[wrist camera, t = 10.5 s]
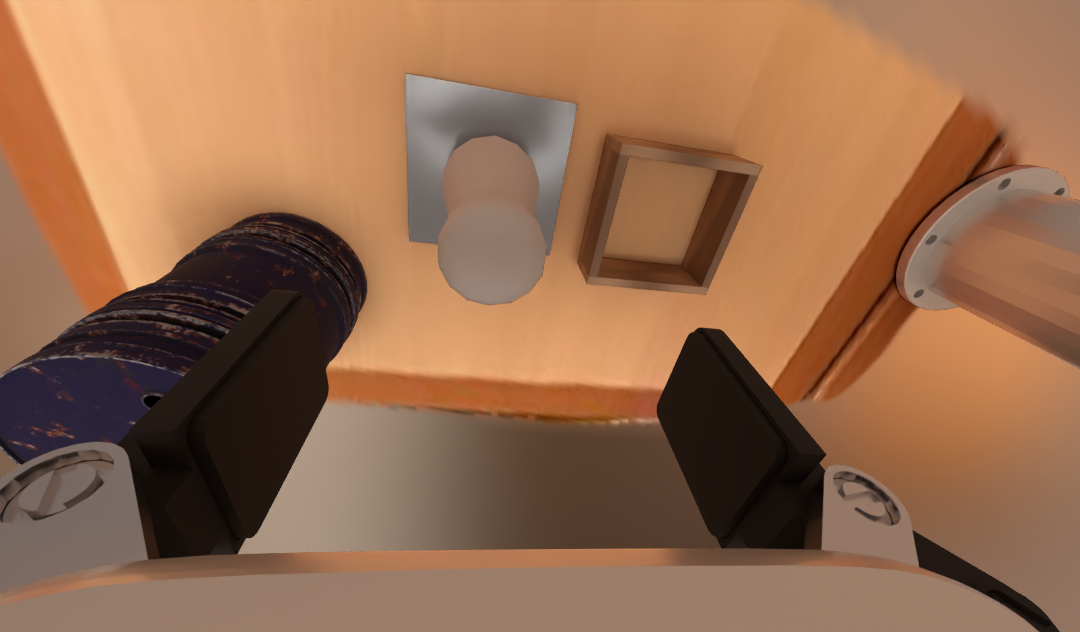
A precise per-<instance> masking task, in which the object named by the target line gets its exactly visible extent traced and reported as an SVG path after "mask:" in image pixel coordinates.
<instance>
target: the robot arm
mask: <svg viewBox="0 0 1080 632" xmlns="http://www.w3.org/2000/svg"><path fill="white" fill-rule="evenodd" d="M896 284H897V288H898V290H899V293H900V294H901V295H902V296H903V298H904V299H905V300H907V301H909V302H910V303H912V304H914V305H915V306H917V307H920V308H923V309H926V310H946V309H951V308H955V307H961V308H963V309H965V310H967V311H969V312H971V313H973V314H975V315H977V316H979V317H980V318H982V319H985V320H986V321H988V322H990V323H992V324H994V325H996V326H998V327H1000V328H1002V329H1004V330H1006V331H1007V332H1009V333H1011V334H1013V335H1015V336H1017V337H1019V338H1021V339H1023V340H1025V341H1027V342H1029V343H1031V344H1033V345H1035V346H1036V347H1039V348H1040V349H1042V350H1044V351H1046V352H1048V353H1050V354H1052V355H1054V356H1056V357H1058V358H1060V359H1062V360H1063V361H1065V362H1067V363H1069V364H1071V365H1073V366H1075V367H1077V368H1079V369H1080V200H1076V199H1072V198H1069V186H1068V184H1067V182H1066V179H1065V178H1064V177H1063V176H1062V175H1061V174H1060V173H1058V172H1057V171H1054V170H1052V169H1049V168H1044V167H1039V166H1033V165H1017V166H1011V167H1007V168H1003V169H999V170H996V171H994V172H992V173H989V174H987V175H984V176H982V177H980V178H978V179H976V180H975V181H973V182H971V183H969V184H968V185H966V186H964V187H962V188H961V189H960V190H958V191H957V192H955V193H954V194H953V195H951V196H950V197H948V198H947V199H946V200H945V201H944V202H943V203H941V204H940V205H939V206H938V207H937V208H936V209H935V210H933V211H932V213H931V214H930V215H929V216H928V217H927V218H926V219H925V220H924V221H923V222H922V223H921V224H920V226H919V227H918V228H917V230H916V231H915V232H914V234H913V235H912V236H911V238H910V239H909V241H908V243H907V245H906V246H905V248H904V250H903V252H902V255H901V257H900V260H899V262H898V267H897V272H896ZM328 390H329V386H328V380H327V374H326V368H325V363H324V357H323V351H322V345H321V340H320V334H319V328H318V323H317V317H316V311H315V306H314V302H313V300H312V299H307V298H306V296H305V295H304V293H303V292H299V291H288V290H277V289H274V290H271V291H270V292H269V293H268V294H267V295H266V296H265V297H263V298H262V299H261V300H260V301H259V302H258V303H257V304H256V305H255V306H254V307H253V308H252V309H251V310H250V311H249V312H248V313H247V314H246V315H245V316H244V317H243V318H242V319H241V320H240V321H239V322H238V323H237V324H236V325H235V326H234V327H233V328H232V329H231V330H230V331H229V332H228V333H227V334H226V335H225V336H224V337H223V338H222V339H221V340H220V341H219V342H218V343H217V344H216V345H215V346H214V347H213V348H212V349H211V350H210V351H209V352H207V353H206V354H205V355H204V356H203V357H202V358H201V359H200V360H199V361H198V362H197V363H196V364H195V365H194V366H193V367H192V368H191V369H190V370H189V371H188V372H187V373H186V374H185V375H184V376H183V377H182V378H181V379H180V380H179V381H178V382H177V383H176V384H175V385H174V386H173V387H172V388H171V389H170V390H169V391H168V392H167V393H166V394H165V395H164V396H163V397H162V398H161V399H160V400H159V401H158V402H157V403H156V404H155V405H154V406H153V407H151V408H150V409H149V410H148V411H147V412H146V413H145V414H144V415H143V416H142V417H141V418H140V419H139V420H138V421H137V422H136V423H135V424H134V425H133V426H132V427H131V428H130V429H129V431H130V432H129V433H128V434H127V435H126V436H125V437H124V438H123V439H122V440H121V441H120V442H119V443H118V444H117V445H115V444H113V443H105V442H90V443H81V444H75V445H71V446H68V447H64V448H60V449H56V450H53V451H51V452H49V453H46V454H44V455H41V456H39V457H36V458H34V459H31V460H30V461H28V462H26V463H24V464H22V465H21V466H19V467H17V468H15V469H14V470H12V471H10V472H8V473H7V474H6V475H4V476H3V477H2V478H0V632H1059V630H1058V629H1057V628H1056V626H1055V625H1054V624H1053V623H1052V622H1051V620H1050V619H1049V618H1048V616H1047V615H1046V614H1045V613H1044V612H1043V611H1042V610H1041V609H1040V608H1039V607H1038V606H1037V605H1035V604H1034V603H1033V602H1032V601H1030V600H1029V599H1028V598H1026V597H1025V596H1023V595H1021V594H1019V593H1018V592H1016V591H1015V590H1013V589H1012V588H1010V587H1008V586H1007V585H1005V584H1004V583H1002V582H1000V581H999V580H997V579H995V578H993V577H992V576H990V575H988V574H987V573H985V572H983V571H982V570H980V569H978V568H976V567H975V566H973V565H971V564H970V563H968V562H966V561H964V560H963V559H961V558H959V557H957V556H956V555H954V554H952V553H951V552H949V551H947V550H946V549H944V548H942V547H940V546H939V545H937V544H935V543H933V542H932V541H930V540H928V539H927V538H925V537H923V536H922V535H920V534H918V533H916V532H915V531H913V530H912V526H911V521H910V518H909V515H908V513H907V510H906V509H905V507H904V506H903V505H902V503H901V502H900V500H899V499H898V498H897V497H896V496H895V495H893V493H892V492H891V491H890V490H889V489H888V488H886V487H885V486H884V485H883V484H881V483H880V482H879V481H877V480H876V479H874V478H873V477H871V476H869V475H867V474H866V473H864V472H862V471H860V470H857V469H855V468H852V467H849V466H844V465H832V466H830V467H829V468H827V469H826V470H824V469H823V468H822V466H821V465H820V464H819V463H820V462H821V460H822V459H823V458H824V457H825V456H826V453H825V452H824V451H823V450H822V449H821V447H820V446H819V445H818V444H817V443H816V441H815V440H814V439H813V438H812V437H811V435H810V434H809V433H808V432H807V431H806V429H805V428H804V427H803V426H802V425H801V424H800V423H799V421H798V420H797V419H796V418H795V416H794V415H793V414H792V413H791V412H790V410H789V409H788V408H787V407H786V406H785V404H784V403H783V402H782V401H781V400H780V398H779V397H778V396H777V395H776V394H775V392H774V391H773V390H772V389H771V388H770V386H769V385H768V384H767V383H766V382H765V380H764V379H763V378H762V377H761V376H760V375H759V373H758V372H757V371H756V370H755V369H754V367H753V366H752V365H751V364H750V363H749V361H748V360H747V359H746V358H745V357H744V355H743V354H742V353H741V352H740V351H739V349H738V348H737V347H736V346H735V345H734V343H733V342H732V341H731V340H730V339H729V337H728V336H727V335H726V334H725V333H724V332H723V331H722V330H720V329H711V328H697V329H696V330H695V331H694V332H692V333H690V334H689V335H688V337H687V339H686V341H685V343H684V346H683V348H682V350H681V352H680V355H679V357H678V359H677V361H676V364H675V366H674V368H673V370H672V373H671V375H670V377H669V379H668V382H667V384H666V386H665V388H664V390H663V393H662V395H661V397H660V399H659V402H658V404H657V416H658V419H659V421H660V423H661V425H662V428H663V430H664V432H665V434H666V436H667V439H668V441H669V443H670V445H671V448H672V450H673V452H674V454H675V456H676V459H677V461H678V463H679V466H680V467H681V470H682V472H683V474H684V477H685V479H686V481H687V483H688V486H689V488H690V490H691V492H692V494H693V497H694V499H695V501H696V503H697V506H698V508H699V510H700V513H701V515H702V517H703V519H704V522H705V524H706V526H707V528H708V530H709V532H710V533H711V534H712V535H713V536H716V537H717V540H718V542H719V544H720V546H721V549H547V550H546V549H544V550H543V549H541V550H539V549H536V550H535V549H532V550H442V551H441V550H435V551H360V552H303V553H269V554H238V552H239V550H240V548H241V546H242V545H243V543H244V541H245V539H246V538H252V537H253V536H254V535H255V534H256V533H257V532H258V530H259V529H260V527H261V525H262V523H263V521H264V519H265V517H266V515H267V513H268V511H269V509H270V508H271V506H272V504H273V502H274V500H275V498H276V496H277V494H278V492H279V490H280V488H281V486H282V484H283V482H284V481H285V479H286V477H287V475H288V473H289V471H290V469H291V467H292V465H293V463H294V461H295V459H296V457H297V455H298V454H299V452H300V449H301V448H302V446H303V444H304V442H305V440H306V438H307V436H308V434H309V432H310V431H311V429H312V427H313V425H314V423H315V420H316V419H317V417H318V415H319V413H320V411H321V409H322V407H323V405H324V404H325V402H326V399H327V396H328ZM747 548H748V549H747Z"/></svg>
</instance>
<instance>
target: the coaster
mask: <svg viewBox="0 0 1080 632" xmlns="http://www.w3.org/2000/svg"><path fill="white" fill-rule="evenodd" d="M405 82H406V129H407V175H408V222H409V241H413V242H423V243H432V244H438V236H439V234H440V232H441V230H442V228H443V226H444V224H445V223H446V221H447V219H448V213H447V210H446V206H445V202H444V198H443V195H442V185H443V170H444V168H445V166H446V164H447V162H448V160H449V158H450V156H451V154H452V152H453V151H454V150H455V149H457V148H458V147H460V146H461V145H463V144H464V143H466V142H468V141H469V140H471V139H472V138H479V137H487V136H495V135H496V136H498V137H501V138H503V139H505V140H508V141H510V142H512V143H515V144H517V145H518V146H519V147H520V148H521V149H522V150H523V151H524V152H525V153H526V154H527V155H528V156H529V157H530V158H531V159H532V160H533V162H534V165H535V169H536V172H537V176H538V179H539V183H540V185H539V193H538V201H537V207H536V211H535V216H534V217H535V218H536V219H537V221H538V223H539V224H540V227H541V230H542V234H543V237H544V240H545V243H546V246H547V247H546V255H549V254H550V249H551V244H552V238H553V233H554V228H555V222H556V217H557V212H558V206H559V201H560V195H561V190H562V185H563V179H564V174H565V169H566V163H567V158H568V153H569V147H570V142H571V137H572V131H573V126H574V120H575V115H576V110H577V104H576V103H571V102H566V101H560V100H554V99H549V98H543V97H538V96H532V95H526V94H521V93H515V92H509V91H504V90H498V89H493V88H487V87H481V86H476V85H470V84H465V83H459V82H453V81H448V80H442V79H436V78H431V77H425V76H420V75H414V74H408V73H406V74H405Z"/></svg>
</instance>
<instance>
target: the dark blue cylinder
mask: <svg viewBox="0 0 1080 632" xmlns="http://www.w3.org/2000/svg"><path fill="white" fill-rule="evenodd" d="M274 289H277V290H288V291H299V292H303V293H304V295H305V296H306V298H307V299H312V300H313V302H314V306H315V311H316V317H317V323H318V328H319V334H320V340H321V345H322V351H323V357H324V363H325V368H327V366H328V364H329V362H330V361H331V360H332V359H333V358H334V357H335V356H336V355H337V354H338V352H339V351H340V349H341V348H342V346H343V344H344V342H345V341H346V340H347V338H348V337H349V335H350V334H351V332H352V330H353V328H354V326H355V323H356V321H357V318H358V313H359V312H360V310H361V309H362V307H363V304H364V302H365V299H366V294H367V280H366V276H365V272H364V269H363V267H362V264H361V262H360V261H359V259H358V257H357V256H356V254H355V253H354V251H353V250H352V249H351V248H350V247H349V245H348V244H347V243H346V242H345V241H344V240H342V239H341V238H340V237H339V236H338V235H336V234H335V233H334V232H332V231H331V230H330V229H328V228H326V227H324V226H323V225H321V224H319V223H317V222H315V221H312V220H310V219H307V218H304V217H301V216H297V215H293V214H287V213H263V214H257V215H254V216H251V217H247V218H245V219H244V220H242V221H240V222H238V223H236V224H235V225H233V226H232V227H231V228H229V229H226V230H223V231H221V232H219V233H218V234H216V235H214V236H212V237H211V238H209V239H207V240H206V241H204V242H203V243H201V244H200V245H199V246H198V247H197V248H196V249H195V250H193V251H192V252H191V253H189V254H188V255H186V256H185V257H184V258H182V259H181V260H180V261H179V262H178V263H177V264H176V266H175V267H174V268H173V270H172V271H171V272H170V273H168V274H167V275H165V276H164V277H162V278H161V279H159V280H158V281H156V282H155V283H151V284H148V285H145V286H142V287H138V288H136V289H134V290H132V291H129V292H126V293H123V294H122V295H120V296H118V297H116V298H114V299H112V300H111V301H110V302H109V303H108V304H106V305H105V306H104V307H102V308H100V309H98V310H97V311H95V312H93V313H91V314H89V315H88V316H86V317H85V318H83V319H81V320H80V321H78V322H77V323H75V324H74V325H72V326H70V327H69V328H67V329H66V330H65V331H64V332H63V333H62V334H61V335H60V336H59V337H58V338H57V339H55V340H54V341H52V342H51V343H49V344H48V345H46V346H45V347H43V348H42V349H41V350H40V351H39V352H38V353H36V354H34V355H32V356H30V357H28V358H26V359H24V360H23V361H21V362H20V363H18V364H16V365H15V366H13V367H12V368H10V369H9V370H7V371H6V372H4V373H3V374H1V375H0V449H1V450H2V451H3V452H5V453H6V454H7V455H8V456H9V457H10V458H11V459H12V460H13V461H14V462H16V463H17V464H18V465H20V466H21V465H22V464H24V463H26V462H28V461H30V460H31V459H34V458H36V457H39V456H41V455H44V454H46V453H49V452H51V451H53V450H56V449H60V448H64V447H68V446H71V445H75V444H81V443H90V442H105V443H113V444H115V445H117V444H118V443H119V442H120V441H121V440H122V439H123V438H124V437H125V436H126V435H127V434H128V433H129V432H130V431H129V429H130V428H131V427H132V426H133V425H134V424H135V423H136V422H137V421H138V420H139V419H140V418H141V417H142V416H143V415H144V414H145V413H146V412H147V411H148V410H149V409H150V408H151V407H153V406H154V405H155V404H156V403H157V402H158V401H159V400H160V399H161V398H162V397H163V396H164V395H165V394H166V393H167V392H168V391H169V390H170V389H171V388H172V387H173V386H174V385H175V384H176V383H177V382H178V381H179V380H180V379H181V378H182V377H183V376H184V375H185V374H186V373H187V372H188V371H189V370H190V369H191V368H192V367H193V366H194V365H195V364H196V363H197V362H198V361H199V360H200V359H201V358H202V357H203V356H204V355H205V354H206V353H207V352H209V351H210V350H211V349H212V348H213V347H214V346H215V345H216V344H217V343H218V342H219V341H220V340H221V339H222V338H223V337H224V336H225V335H226V334H227V333H228V332H229V331H230V330H231V329H232V328H233V327H234V326H235V325H236V324H237V323H238V322H239V321H240V320H241V319H242V318H243V317H244V316H245V315H246V314H247V313H248V312H249V311H250V310H251V309H252V308H253V307H254V306H255V305H256V304H257V303H258V302H259V301H260V300H261V299H262V298H263V297H265V296H266V295H267V294H268V293H269V292H270V291H271V290H274Z"/></svg>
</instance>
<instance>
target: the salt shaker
mask: <svg viewBox="0 0 1080 632" xmlns="http://www.w3.org/2000/svg"><path fill="white" fill-rule="evenodd" d="M539 185H540V183H539V179H538V176H537V172H536V169H535V165H534V162H533V160H532V159H531V158H530V157H529V156H528V155H527V154H526V153H525V152H524V151H523V150H522V149H521V148H520V147H519V146H518V145H517V144H515V143H512V142H510V141H508V140H505V139H503V138H501V137H498V136H496V135H495V136H487V137H479V138H472V139H471V140H469V141H468V142H466V143H464V144H463V145H461V146H460V147H458V148H457V149H455V150H454V151H453V152H452V154H451V156H450V158H449V160H448V162H447V164H446V166H445V168H444V170H443V185H442V195H443V198H444V202H445V206H446V210H447V213H448V219H447V221H446V223H445V224H444V226H443V228H442V230H441V232H440V234H439V236H438V263H439V267H440V269H441V271H442V273H443V275H444V277H445V278H446V280H447V282H448V284H449V286H450V287H451V288H453V289H454V290H455V291H456V292H458V293H459V294H460V295H462V296H463V297H464V298H465V299H467V300H469V301H473V302H477V303H481V304H485V305H497V304H506V303H512V302H513V301H515V300H517V299H519V298H520V297H522V296H524V295H525V294H527V293H529V292H530V291H531V290H532V288H533V287H534V286H535V284H536V283H537V282H538V280H539V279H540V278H541V276H542V275H543V269H544V262H545V256H546V247H547V246H546V243H545V240H544V237H543V234H542V230H541V227H540V224H539V223H538V221H537V219H536V218H535V217H534V216H535V211H536V207H537V201H538V193H539Z"/></svg>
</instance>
